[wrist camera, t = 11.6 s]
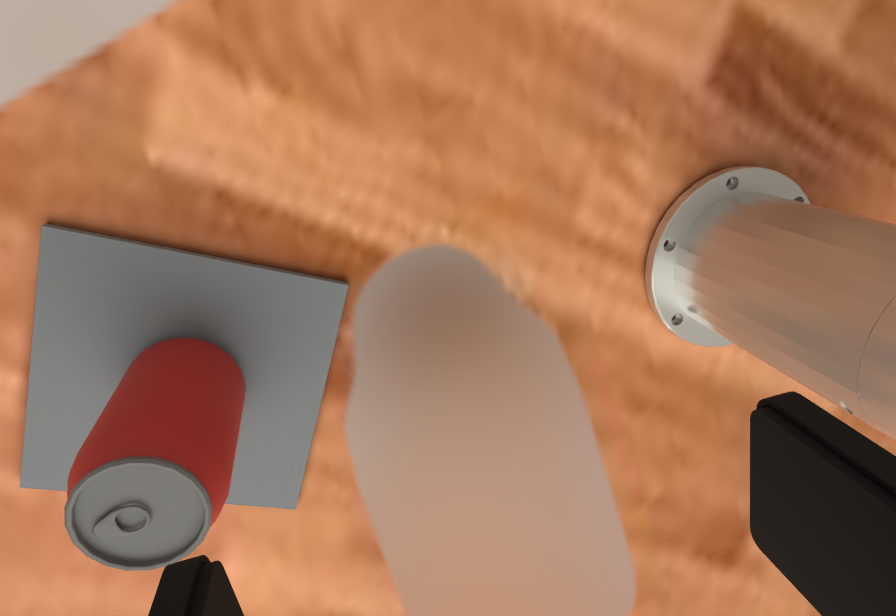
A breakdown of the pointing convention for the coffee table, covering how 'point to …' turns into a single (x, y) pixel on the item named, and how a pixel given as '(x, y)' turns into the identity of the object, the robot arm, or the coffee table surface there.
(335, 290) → the slate mat
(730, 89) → the coffee table surface
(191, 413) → the beer can
